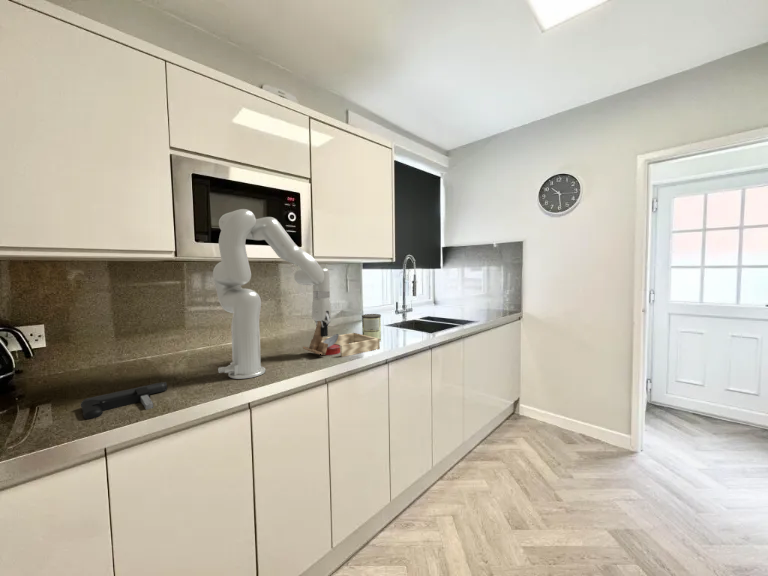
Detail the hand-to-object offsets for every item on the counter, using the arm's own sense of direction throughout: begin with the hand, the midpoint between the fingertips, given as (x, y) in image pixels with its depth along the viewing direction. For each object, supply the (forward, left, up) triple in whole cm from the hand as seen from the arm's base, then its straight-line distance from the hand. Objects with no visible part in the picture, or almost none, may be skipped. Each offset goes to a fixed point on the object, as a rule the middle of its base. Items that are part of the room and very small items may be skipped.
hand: (322, 335), depth 146 cm
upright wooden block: (-4, 0, -7) cm, 8 cm away
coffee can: (+34, +7, -9) cm, 36 cm away
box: (+14, 0, -9) cm, 17 cm away
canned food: (+4, 0, -9) cm, 10 cm away
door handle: (-70, -13, -9) cm, 71 cm away
